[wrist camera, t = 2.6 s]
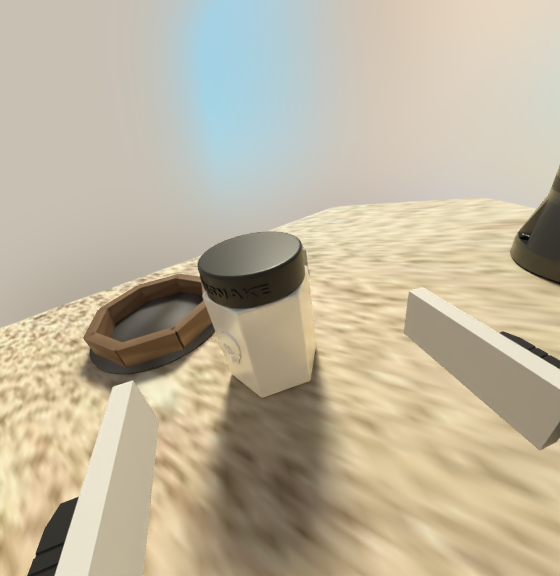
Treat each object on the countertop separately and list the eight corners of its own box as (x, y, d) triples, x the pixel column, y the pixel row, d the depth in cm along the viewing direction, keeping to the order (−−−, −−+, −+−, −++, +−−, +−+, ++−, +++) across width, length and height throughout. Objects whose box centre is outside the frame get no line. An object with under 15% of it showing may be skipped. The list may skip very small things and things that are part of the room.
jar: (216, 365, 27) (173, 261, 21) (271, 322, 31) (250, 225, 25) (279, 416, 21) (246, 292, 15) (335, 354, 26) (328, 239, 19)
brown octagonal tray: (218, 277, 44) (213, 261, 42) (234, 342, 29) (227, 322, 28) (110, 307, 40) (101, 292, 39) (69, 396, 26) (52, 377, 25)
